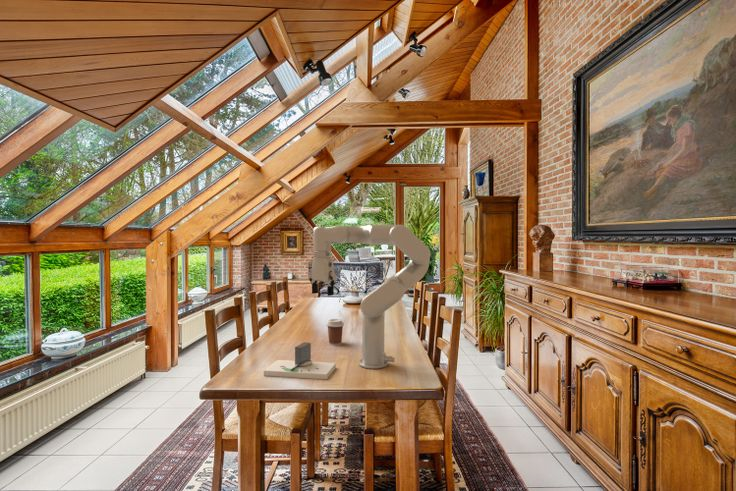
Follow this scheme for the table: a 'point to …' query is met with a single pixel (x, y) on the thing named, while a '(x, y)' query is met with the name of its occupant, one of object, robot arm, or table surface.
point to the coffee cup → (335, 331)
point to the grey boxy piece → (302, 355)
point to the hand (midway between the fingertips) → (322, 294)
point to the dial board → (300, 370)
